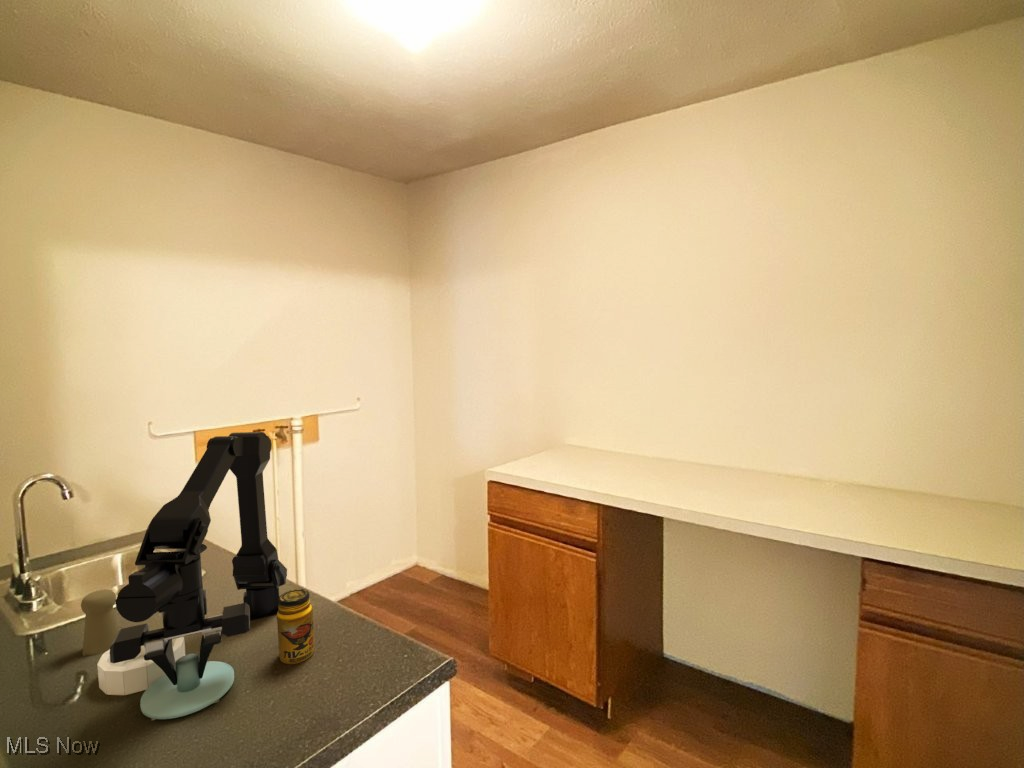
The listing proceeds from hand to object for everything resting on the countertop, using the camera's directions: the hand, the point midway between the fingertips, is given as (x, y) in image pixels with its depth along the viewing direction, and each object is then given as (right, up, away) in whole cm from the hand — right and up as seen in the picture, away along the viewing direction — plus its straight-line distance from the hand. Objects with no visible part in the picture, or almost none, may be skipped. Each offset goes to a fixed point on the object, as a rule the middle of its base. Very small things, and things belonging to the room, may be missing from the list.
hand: (188, 680), depth 84 cm
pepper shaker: (-26, -2, +14) cm, 30 cm away
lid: (0, -2, 0) cm, 2 cm away
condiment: (+13, -2, +11) cm, 17 cm away
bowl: (-12, -3, +6) cm, 13 cm away
